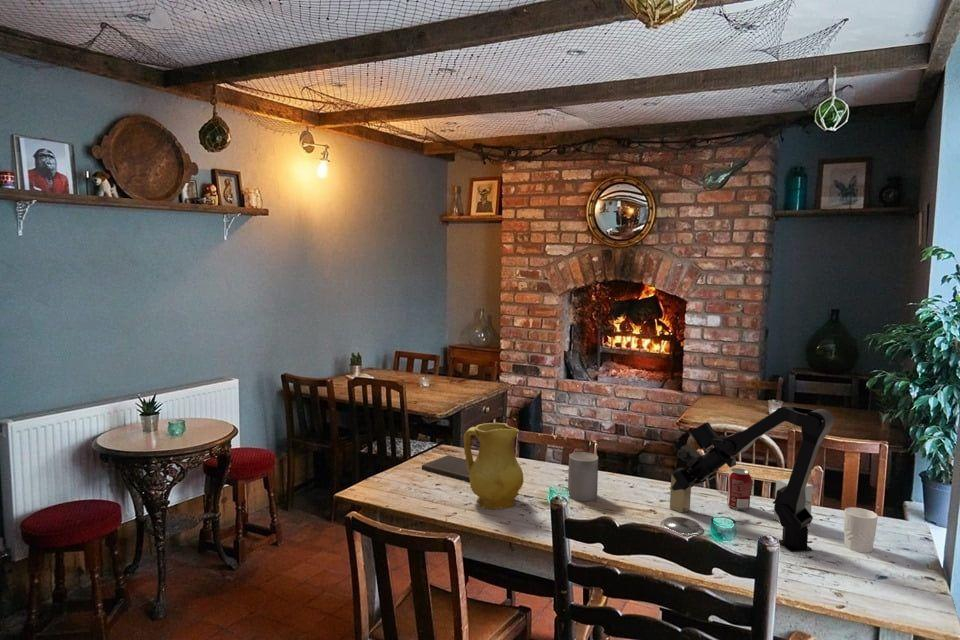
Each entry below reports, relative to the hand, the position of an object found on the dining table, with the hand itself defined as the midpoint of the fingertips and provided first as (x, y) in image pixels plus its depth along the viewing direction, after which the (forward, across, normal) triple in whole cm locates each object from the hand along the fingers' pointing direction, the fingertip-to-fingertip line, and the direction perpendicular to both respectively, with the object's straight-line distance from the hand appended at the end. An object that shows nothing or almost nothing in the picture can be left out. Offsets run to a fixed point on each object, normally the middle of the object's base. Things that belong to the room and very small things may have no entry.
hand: (676, 487), depth 202 cm
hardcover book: (+55, +30, -45) cm, 77 cm away
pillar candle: (+23, +15, -13) cm, 31 cm away
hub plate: (-2, +13, +11) cm, 17 cm away
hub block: (+4, 0, +6) cm, 7 cm away
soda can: (-4, -17, +14) cm, 22 cm away
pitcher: (+34, +41, -24) cm, 58 cm away
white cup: (-29, -14, +39) cm, 51 cm away
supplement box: (-15, -17, +26) cm, 35 cm away
